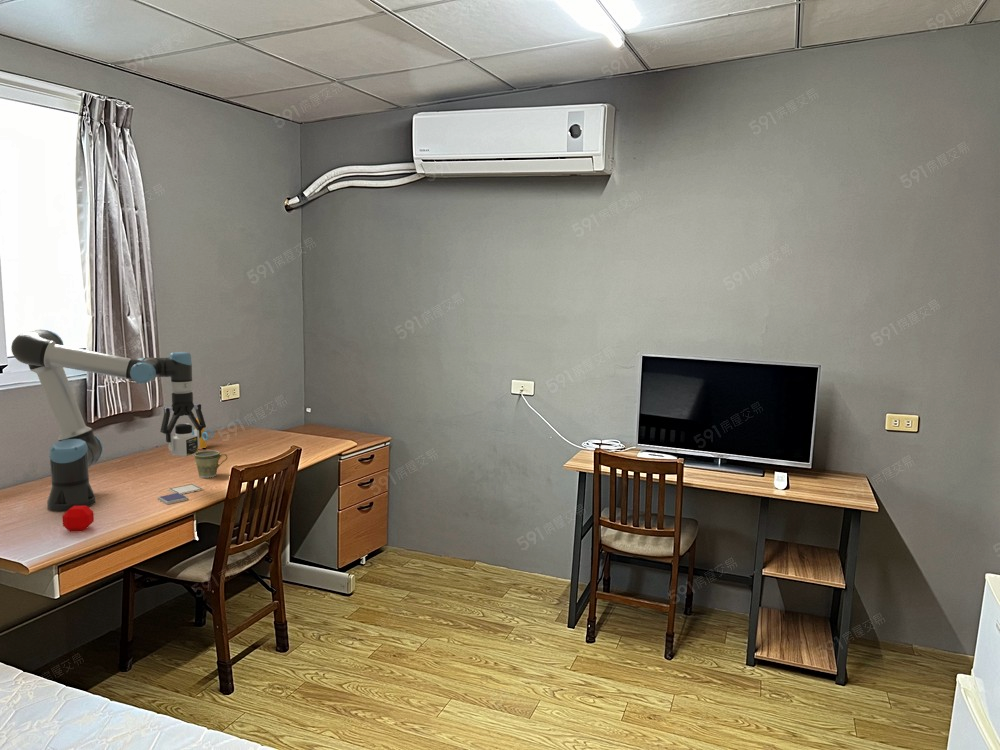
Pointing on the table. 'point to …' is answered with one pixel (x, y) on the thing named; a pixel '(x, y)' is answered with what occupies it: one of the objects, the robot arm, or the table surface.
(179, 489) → the print card
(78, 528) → the ball
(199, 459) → the ceramic cup
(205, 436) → the cylinder
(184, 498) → the ink pad
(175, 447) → the medicine bottle
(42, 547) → the table surface
